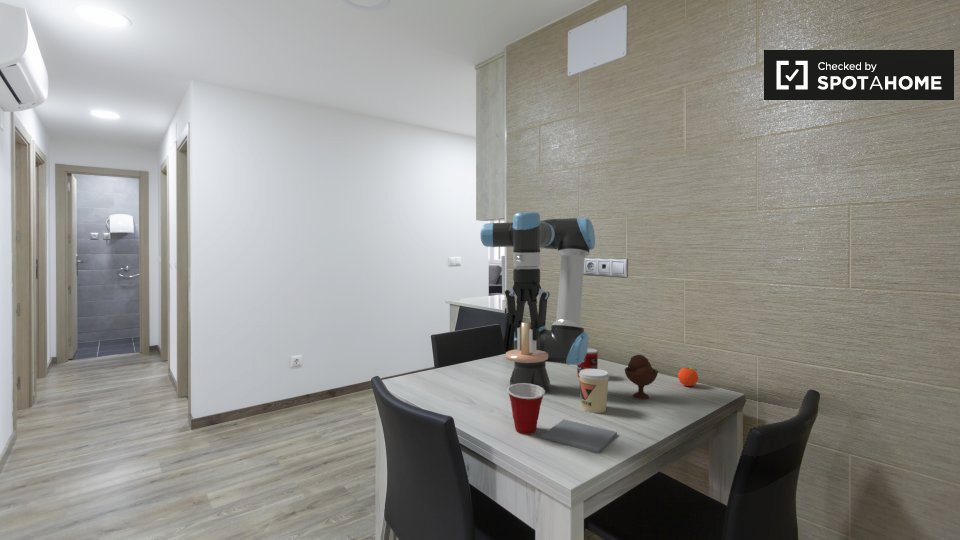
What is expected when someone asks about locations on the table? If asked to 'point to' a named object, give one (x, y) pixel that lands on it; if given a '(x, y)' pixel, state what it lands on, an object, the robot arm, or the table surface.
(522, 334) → the lid
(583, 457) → the table surface
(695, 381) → the clementine
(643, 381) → the ice cream bowl
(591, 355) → the canned food
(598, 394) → the coffee cup
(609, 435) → the mat
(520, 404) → the plastic cup
